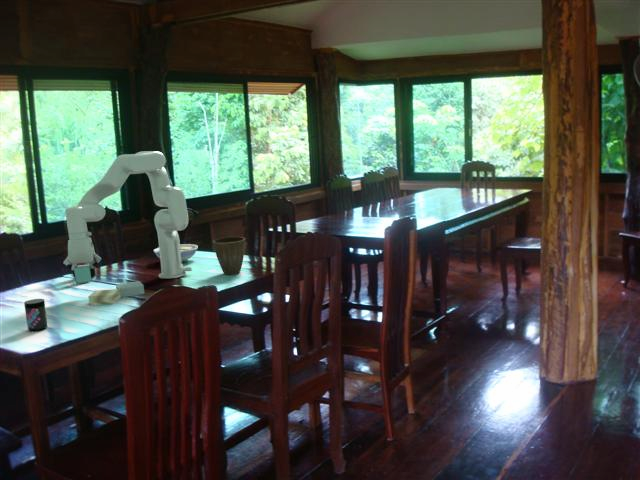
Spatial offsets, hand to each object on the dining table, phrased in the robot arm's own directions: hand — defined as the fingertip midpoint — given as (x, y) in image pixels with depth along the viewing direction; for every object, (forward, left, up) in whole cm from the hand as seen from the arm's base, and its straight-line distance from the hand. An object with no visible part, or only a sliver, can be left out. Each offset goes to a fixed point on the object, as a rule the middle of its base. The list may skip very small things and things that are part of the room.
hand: (84, 277), depth 287 cm
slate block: (-18, -3, -9) cm, 20 cm away
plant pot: (-59, -27, -9) cm, 66 cm away
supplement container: (+7, +44, -9) cm, 45 cm away
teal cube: (0, 0, -1) cm, 1 cm away
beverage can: (+10, -31, -9) cm, 34 cm away
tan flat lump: (-9, +9, -9) cm, 16 cm away
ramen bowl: (-29, -65, -9) cm, 72 cm away
